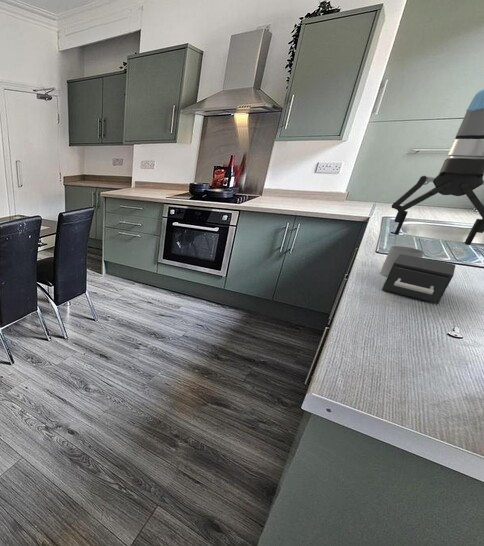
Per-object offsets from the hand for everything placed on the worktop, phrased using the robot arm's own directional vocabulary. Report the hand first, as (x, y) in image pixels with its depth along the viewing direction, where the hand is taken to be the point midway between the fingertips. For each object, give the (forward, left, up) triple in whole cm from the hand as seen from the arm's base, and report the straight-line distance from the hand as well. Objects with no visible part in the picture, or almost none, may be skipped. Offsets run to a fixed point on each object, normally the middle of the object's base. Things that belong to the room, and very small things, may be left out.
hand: (429, 238), depth 87 cm
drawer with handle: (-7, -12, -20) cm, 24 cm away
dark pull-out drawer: (-5, -7, -19) cm, 21 cm away
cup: (-8, -26, -20) cm, 34 cm away
